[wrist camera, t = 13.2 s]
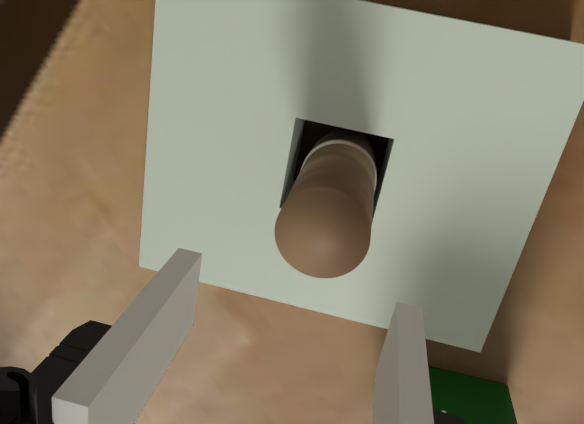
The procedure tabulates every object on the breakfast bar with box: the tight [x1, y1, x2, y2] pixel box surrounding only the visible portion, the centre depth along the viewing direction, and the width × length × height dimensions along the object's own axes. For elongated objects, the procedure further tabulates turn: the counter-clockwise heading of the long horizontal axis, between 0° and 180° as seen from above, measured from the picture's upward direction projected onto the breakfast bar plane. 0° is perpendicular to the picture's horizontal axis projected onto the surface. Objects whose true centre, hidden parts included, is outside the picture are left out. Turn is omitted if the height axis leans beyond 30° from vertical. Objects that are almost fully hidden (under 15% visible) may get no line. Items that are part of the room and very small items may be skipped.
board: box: [139, 0, 584, 352], centre depth 31 cm, size 22×18×5 cm
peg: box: [274, 127, 377, 278], centre depth 27 cm, size 4×4×13 cm
